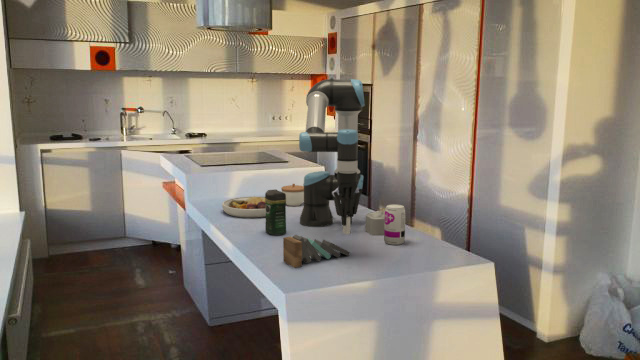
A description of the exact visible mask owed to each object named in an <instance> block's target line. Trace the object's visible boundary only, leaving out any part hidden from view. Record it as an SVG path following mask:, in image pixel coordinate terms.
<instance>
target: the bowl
mask: <svg viewBox="0 0 640 360" xmlns="http://www.w3.org/2000/svg"><path fill="white" fill-rule="evenodd" d="M221 205H222V210H223V211H224V213H226V214H227V215H229V216H232V217H234V218H235V217H236V218H243V219H245V218H246V219H259V218H266V202H265V196H255V195H254V196H243V197H242V196H241V197H240V196H239V197H234V198H230V199H226V200H223V202H222V203H221Z"/></svg>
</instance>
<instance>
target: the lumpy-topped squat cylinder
mask: <svg viewBox="0 0 640 360" xmlns="http://www.w3.org/2000/svg"><path fill="white" fill-rule="evenodd" d="M384 225H385V211H383V212H382V211H381V210H376V211H374V212H373V211H372V212H370V213H367V214H366V215H365V233H368V234H369V235H371V236H384Z"/></svg>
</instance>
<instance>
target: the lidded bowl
mask: <svg viewBox="0 0 640 360" xmlns="http://www.w3.org/2000/svg"><path fill="white" fill-rule="evenodd" d="M280 188H281V189H280V190H281V192H283V193H285V194H286V206H289V207H299V206H301V204H302V203H304V186H303V185H298V184H297V185H296V183H292V185H291V184H290V185H289V184H288V185H284V186H282V187H280Z"/></svg>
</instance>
